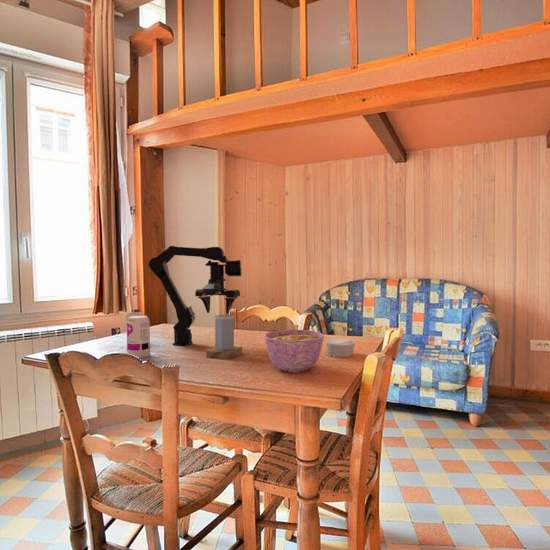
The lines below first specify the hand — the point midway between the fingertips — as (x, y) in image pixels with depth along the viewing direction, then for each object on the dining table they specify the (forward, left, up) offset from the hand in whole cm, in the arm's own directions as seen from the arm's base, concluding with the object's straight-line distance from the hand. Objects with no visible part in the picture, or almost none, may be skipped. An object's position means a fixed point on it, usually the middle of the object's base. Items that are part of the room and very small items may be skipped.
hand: (217, 313), depth 189 cm
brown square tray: (+12, -17, -14) cm, 25 cm away
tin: (+12, -17, -11) cm, 23 cm away
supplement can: (-18, -29, -13) cm, 37 cm away
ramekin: (+53, -2, -13) cm, 55 cm away
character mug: (-35, -10, -13) cm, 39 cm away
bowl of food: (+43, -27, -13) cm, 53 cm away
